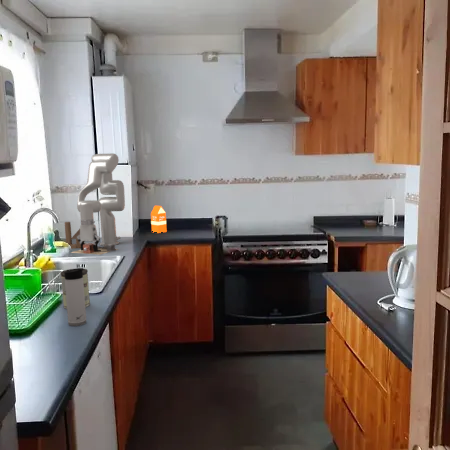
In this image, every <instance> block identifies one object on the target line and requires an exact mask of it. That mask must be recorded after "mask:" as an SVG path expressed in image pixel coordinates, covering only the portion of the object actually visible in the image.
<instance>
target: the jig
mask: <svg viewBox="0 0 450 450" xmlns="http://www.w3.org/2000/svg"><path fill="white" fill-rule="evenodd" d="M84 243H85V244H87V243H88V242H84ZM114 251H119V248H116V245H115V244H104V246H98V251H96V252H93V253H84V252H83V250H82V251H81V249H79V250H75V251H72V252H70V253H73V254H86V255H100V256H101V255H104V254H108V253H111V252H114Z"/></svg>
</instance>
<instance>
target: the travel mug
mask: <svg viewBox="0 0 450 450" xmlns="http://www.w3.org/2000/svg"><path fill="white" fill-rule="evenodd" d="M70 269H71V270H69V269H66V270H67V271H66V272H64V275H65V290H66V302H67V309H66V311H67V324H68V326H69V327H80V326H84V325H86V324H87V311H86V307H85V296H84V283H83V275H82V274H83V272H82V271H83V269H84V268H83V267H78V268H70Z"/></svg>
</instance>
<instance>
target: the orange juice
mask: <svg viewBox="0 0 450 450" xmlns="http://www.w3.org/2000/svg"><path fill="white" fill-rule="evenodd" d="M166 213H167V212H166V211H165V210H164V208H163V207H162V205H154V206H153V209H152V210H151V212H150V224H151V232H152V231H153V232H152V233H154V232H157V233H156V234H161V232H163V233H167V231H168V230H167V214H166Z"/></svg>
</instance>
